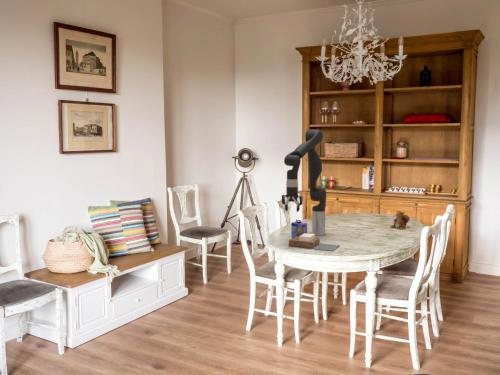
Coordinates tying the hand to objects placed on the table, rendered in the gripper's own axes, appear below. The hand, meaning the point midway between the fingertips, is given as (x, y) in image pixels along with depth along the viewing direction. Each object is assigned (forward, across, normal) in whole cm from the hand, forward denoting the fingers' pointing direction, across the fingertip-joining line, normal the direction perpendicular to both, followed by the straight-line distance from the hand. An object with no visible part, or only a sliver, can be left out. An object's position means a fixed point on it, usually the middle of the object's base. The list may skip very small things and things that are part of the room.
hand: (292, 211), depth 321 cm
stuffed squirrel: (+22, -56, -83) cm, 102 cm away
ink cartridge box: (+22, 0, -12) cm, 25 cm away
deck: (+22, -8, 0) cm, 24 cm away
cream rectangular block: (+17, -10, 0) cm, 20 cm away
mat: (+22, -24, 0) cm, 32 cm away
